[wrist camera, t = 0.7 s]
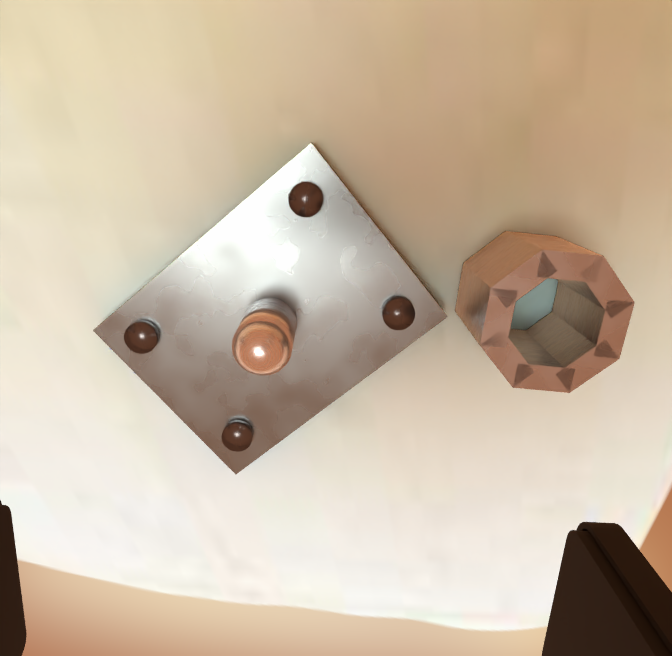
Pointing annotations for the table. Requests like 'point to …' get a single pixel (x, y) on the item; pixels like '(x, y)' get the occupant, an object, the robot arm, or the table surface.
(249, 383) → the shaft block
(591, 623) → the robot arm
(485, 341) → the hub ring
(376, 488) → the table surface
